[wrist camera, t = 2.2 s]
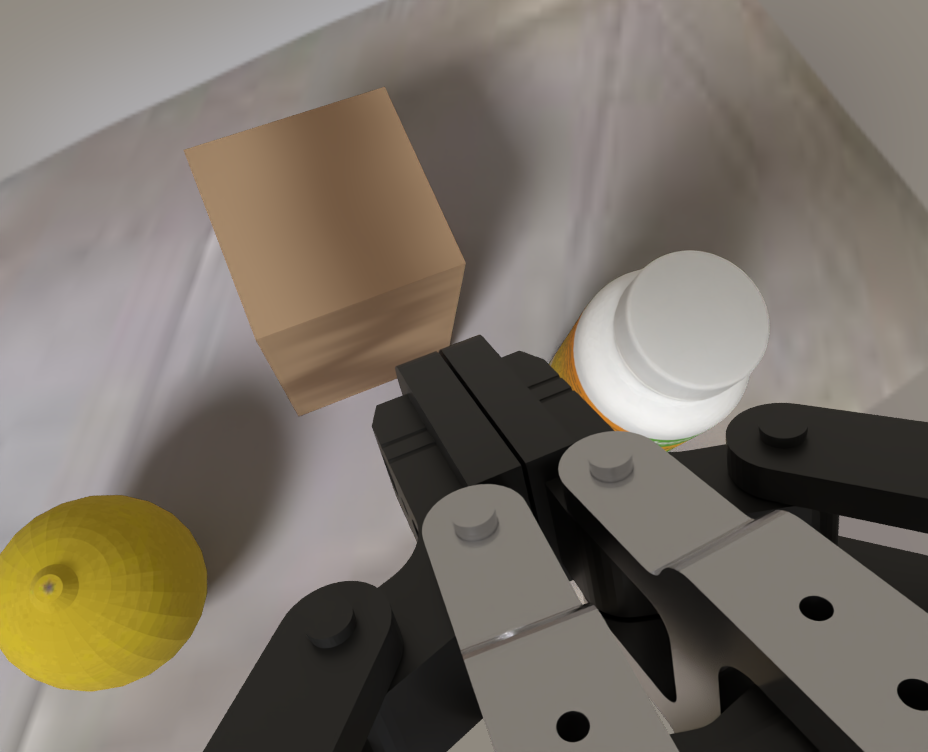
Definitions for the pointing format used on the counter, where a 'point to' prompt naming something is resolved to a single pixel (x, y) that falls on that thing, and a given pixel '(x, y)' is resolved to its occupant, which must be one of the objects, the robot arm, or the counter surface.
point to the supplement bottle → (667, 346)
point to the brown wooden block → (333, 245)
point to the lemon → (99, 592)
